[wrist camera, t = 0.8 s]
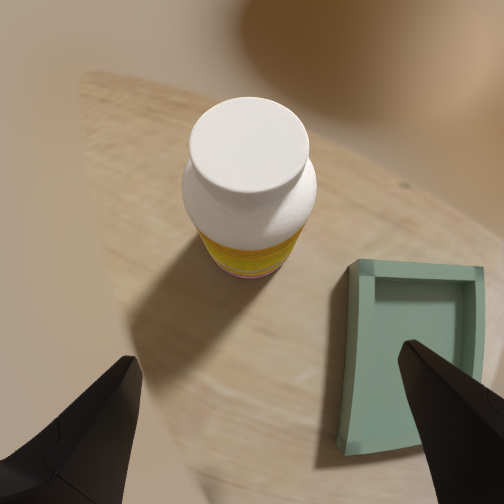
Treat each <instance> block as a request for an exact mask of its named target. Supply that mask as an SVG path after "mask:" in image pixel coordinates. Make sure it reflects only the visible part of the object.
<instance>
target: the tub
mask: <svg viewBox="0 0 504 504" xmlns="http://www.w3.org/2000/svg"><path fill="white" fill-rule="evenodd" d="M411 339H416V340H417V341H419V342H420V343H422V344H423V345H425V346H426V347H428V348H429V349H431V350H432V351H434V352H435V353H437V354H438V355H440V356H441V357H443V358H444V359H446V360H447V361H449V362H450V363H452V364H453V365H455V366H456V367H458V368H459V369H460V370H462V371H463V372H465V373H466V374H468V375H469V376H471V377H472V378H474V379H475V380H477V381H478V382H480V383H481V378H482V368H483V357H484V340H485V287H484V270H483V267H476V266H461V265H446V264H431V263H415V262H400V261H385V260H370V259H358V260H357V261H355V262H354V263H352V264H351V265H349V278H348V319H347V339H346V355H345V368H344V380H343V391H342V400H341V409H340V418H339V426H338V433H337V440H336V445H337V447H338V448H339V449H340V451H341V452H342V453H343V454H344V456H350V455H360V454H368V453H375V452H382V451H388V450H394V449H400V448H405V447H410V446H415V445H420V444H422V443H421V439H420V436H419V433H418V430H417V427H416V424H415V421H414V418H413V415H412V413H411V410H410V407H409V404H408V401H407V398H406V394H405V390H404V386H403V382H402V378H401V374H400V370H399V366H398V356H399V353H400V350H401V348H402V345H403V343H404V341H406V340H411Z"/></svg>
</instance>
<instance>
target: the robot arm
mask: <svg viewBox="0 0 504 504" xmlns="http://www.w3.org/2000/svg"><path fill="white" fill-rule="evenodd" d="M398 366H399V370H400V374H401V378H402V382H403V386H404V390H405V394H406V398H407V401H408V404H409V407H410V410H411V413H412V415H413V418H414V421H415V424H416V427H417V430H418V433H419V436H420V439H421V443H422V446H423V449H424V452H425V456H426V459H427V462H428V466H429V469H430V473H431V476H432V480H433V484H434V487H435V491H436V496H437V500H438V504H504V399H503V398H502V397H500V396H499V395H497V394H496V393H494V392H493V391H491V390H490V389H488V388H486V387H485V386H484V385H482V384H481V383H480V382H478V381H477V380H475V379H474V378H472V377H471V376H469V375H468V374H466V373H465V372H463V371H462V370H460V369H459V368H458V367H456V366H455V365H453V364H452V363H450V362H449V361H447V360H446V359H444V358H443V357H441V356H440V355H438V354H437V353H435V352H434V351H432V350H431V349H429V348H428V347H426V346H425V345H423V344H422V343H420V342H419V341H417V340H416V339H411V340H406V341H404V343H403V345H402V348H401V350H400V353H399V356H398ZM142 378H143V376H142V371H141V369H140V366H139V364H138V361H137V359H136V357H135V356H126V355H125V356H123V357H121V358H120V359H119V360H118V361H117V362H116V363H115V364H114V365H113V366H111V367H110V368H109V369H108V370H107V371H106V372H105V373H104V374H103V375H102V376H101V377H100V378H98V379H97V380H96V381H95V382H94V383H93V384H92V385H91V386H90V387H89V388H88V389H87V390H86V391H85V392H83V393H82V394H81V395H80V396H79V397H78V398H77V399H76V400H75V401H74V402H73V403H72V404H70V405H69V406H68V407H67V408H66V409H65V410H64V411H63V412H62V413H61V414H60V415H59V416H58V418H55V419H54V420H53V421H52V422H51V423H50V424H49V425H48V426H47V427H46V428H44V429H43V430H42V431H41V432H40V433H39V434H37V435H36V436H35V437H34V438H32V439H31V440H30V441H29V442H27V443H26V444H25V445H23V446H22V447H21V448H19V449H18V450H16V451H15V452H14V453H13V454H11V455H10V456H8V457H7V458H5V459H3V460H0V504H122V498H123V493H124V487H125V481H126V475H127V470H128V464H129V459H130V453H131V449H132V444H133V439H134V435H135V430H136V425H137V419H138V414H139V405H140V396H141V387H142Z"/></svg>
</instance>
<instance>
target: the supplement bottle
mask: <svg viewBox="0 0 504 504" xmlns="http://www.w3.org/2000/svg"><path fill="white" fill-rule="evenodd" d="M308 153H309V139H308V135H307V132H306V130H305V128H304V126H303V124H302V122H301V121H300V120H299V119H298V117H296V115H295V114H294V113H293V112H291V111H290V110H288V109H287V108H286V107H284V106H282V105H281V104H279V103H276V102H274V101H271V100H267V99H263V98H256V97H242V98H235V99H230V100H227V101H224V102H222V103H219V104H217V105H215V106H214V107H212V108H211V109H209V110H208V111H207V112H205V113H204V114H203V115H202V116H201V117H200V118H199V120H198V121H197V122H196V124H195V125H194V127H193V129H192V132H191V135H190V139H189V155H190V158H189V159H188V162H187V164H186V166H185V169H184V173H183V177H182V196H183V201H184V205H185V208H186V210H187V212H188V214H189V216H190V218H191V220H192V222H193V223H194V225H195V227H196V229H197V231H198V233H199V235H200V236H201V238H202V240H203V242H204V244H205V246H206V248H207V250H208V252H209V254H210V255H211V257H212V258H213V260H214V261H215V262H216V264H217V265H218V266H219V267H220V268H222V269H223V270H224V271H226V272H228V273H229V274H232V275H234V276H237V277H242V278H258V277H263V276H265V275H268V274H270V273H272V272H274V271H275V270H277V269H278V268H279V267H280V266H281V265H282V264H283V263H284V262H285V261H286V260H287V258H288V256H289V255H290V253H291V251H292V249H293V247H294V245H295V243H296V241H297V239H298V237H299V235H300V233H301V231H302V229H303V227H304V225H305V223H306V221H307V219H308V217H309V215H310V213H311V210H312V208H313V205H314V202H315V197H316V187H317V184H316V176H315V171H314V168H313V165H312V163H311V161H310V159H309V157H308Z"/></svg>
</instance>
